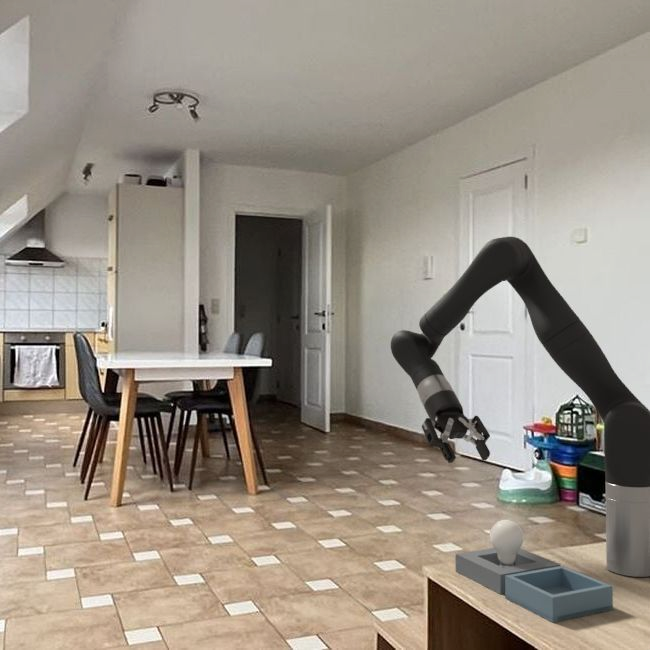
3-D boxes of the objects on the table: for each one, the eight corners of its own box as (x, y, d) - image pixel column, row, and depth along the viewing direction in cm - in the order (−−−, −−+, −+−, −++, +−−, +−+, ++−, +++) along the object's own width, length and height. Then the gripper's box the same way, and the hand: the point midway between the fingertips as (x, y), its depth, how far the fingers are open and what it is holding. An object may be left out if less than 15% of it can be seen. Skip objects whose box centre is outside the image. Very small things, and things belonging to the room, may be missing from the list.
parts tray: (562, 587, 132) (562, 565, 133) (612, 609, 122) (612, 586, 122) (505, 598, 127) (505, 575, 127) (552, 622, 116) (552, 597, 116)
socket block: (512, 562, 148) (512, 545, 148) (560, 583, 135) (560, 564, 135) (455, 571, 142) (455, 553, 142) (500, 594, 129) (500, 574, 129)
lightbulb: (525, 583, 135) (524, 524, 135) (490, 581, 136) (490, 523, 136) (522, 572, 141) (522, 516, 141) (489, 571, 142) (489, 515, 142)
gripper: (418, 389, 155) (448, 450, 144) (472, 387, 161) (505, 446, 150) (405, 411, 159) (433, 472, 149) (458, 409, 165) (489, 467, 155)
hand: (469, 459), depth 149 cm, fingers open, 8 cm apart
